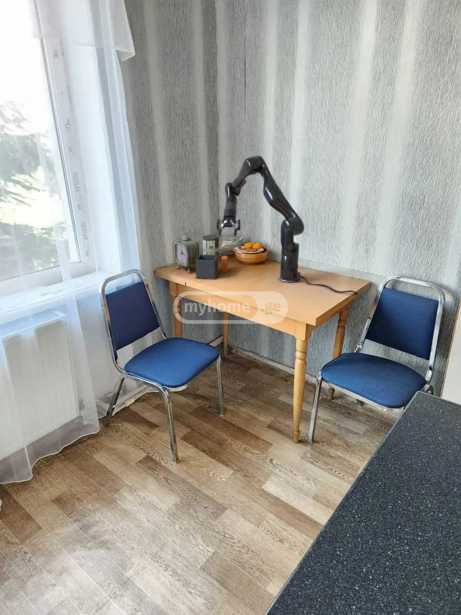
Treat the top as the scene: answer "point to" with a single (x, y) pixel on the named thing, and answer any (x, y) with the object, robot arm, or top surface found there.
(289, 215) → the robot arm
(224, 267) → the packet
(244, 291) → the top surface
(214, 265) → the bin
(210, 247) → the lantern
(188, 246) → the tabletop clock
